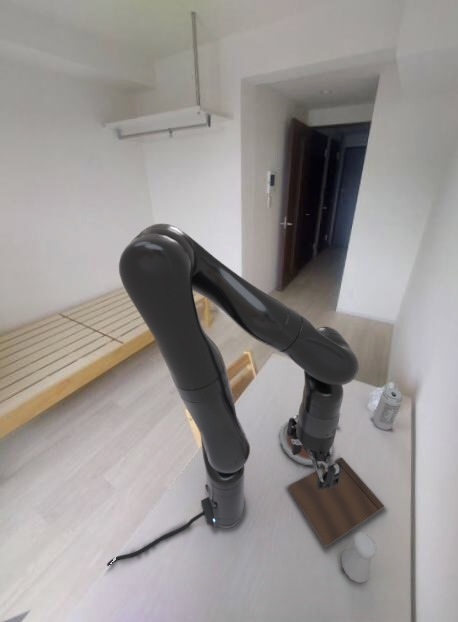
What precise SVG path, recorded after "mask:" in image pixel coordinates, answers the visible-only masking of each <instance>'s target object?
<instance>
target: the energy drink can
mask: <svg viewBox="0 0 458 622" xmlns="http://www.w3.org/2000/svg"><path fill="white" fill-rule="evenodd" d="M381 392H382V393H381V394H380V397H379V400H378V403H377V406H376V409H375V411H374V414H373V417H372V422H373V425H375V427H376V428H378V429H380V430H382V431H388V430H390V429H392V427H393V425H394V422H395V420H396V417H397V414H398V413H399V410H400V408H401V406H402V403H403V398H402V396H403V395H402V392H401V391H399V390H398V389H396V388H394V387H387V388H385V389H384V390H383V391H381Z"/></svg>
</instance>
